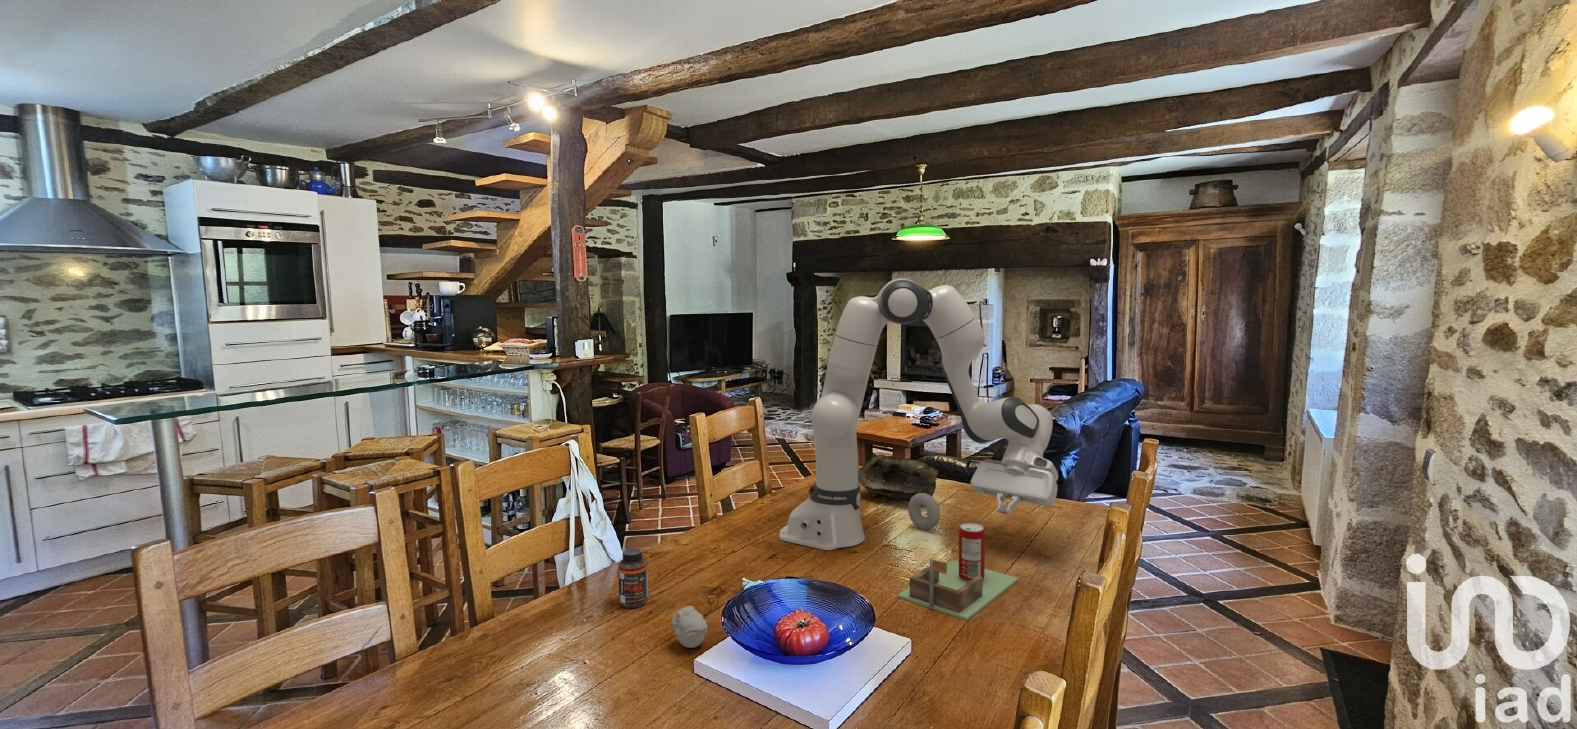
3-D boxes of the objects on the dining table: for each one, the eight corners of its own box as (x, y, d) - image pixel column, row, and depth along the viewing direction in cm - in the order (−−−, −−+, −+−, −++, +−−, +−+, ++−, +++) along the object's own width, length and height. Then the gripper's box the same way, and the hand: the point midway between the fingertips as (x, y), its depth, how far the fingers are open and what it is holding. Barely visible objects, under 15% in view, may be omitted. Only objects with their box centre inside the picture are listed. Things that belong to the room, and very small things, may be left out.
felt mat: (952, 562, 160) (952, 559, 160) (1018, 580, 150) (1018, 578, 150) (897, 597, 143) (897, 594, 142) (967, 620, 132) (967, 617, 132)
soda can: (975, 571, 153) (975, 520, 152) (989, 581, 148) (990, 528, 147) (953, 575, 152) (954, 523, 150) (967, 585, 146) (967, 531, 145)
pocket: (934, 580, 149) (934, 537, 148) (982, 595, 141) (983, 549, 140) (906, 598, 140) (906, 552, 139) (956, 615, 133) (956, 566, 132)
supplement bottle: (623, 612, 138) (620, 558, 137) (616, 600, 143) (614, 548, 142) (651, 605, 140) (649, 553, 139) (644, 594, 146) (642, 543, 145)
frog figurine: (690, 633, 129) (688, 598, 128) (715, 645, 124) (714, 608, 124) (665, 646, 124) (664, 610, 123) (691, 659, 120) (690, 621, 119)
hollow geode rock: (937, 526, 199) (959, 483, 204) (918, 503, 192) (942, 460, 197) (867, 501, 220) (889, 463, 225) (847, 480, 213) (871, 442, 218)
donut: (942, 532, 180) (943, 496, 179) (934, 535, 178) (935, 499, 177) (913, 523, 188) (913, 488, 187) (905, 526, 185) (905, 490, 184)
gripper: (977, 451, 172) (959, 497, 166) (1058, 463, 158) (1042, 514, 152) (985, 464, 176) (967, 510, 169) (1065, 478, 162) (1049, 528, 156)
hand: (1003, 512), depth 161 cm, fingers closed
